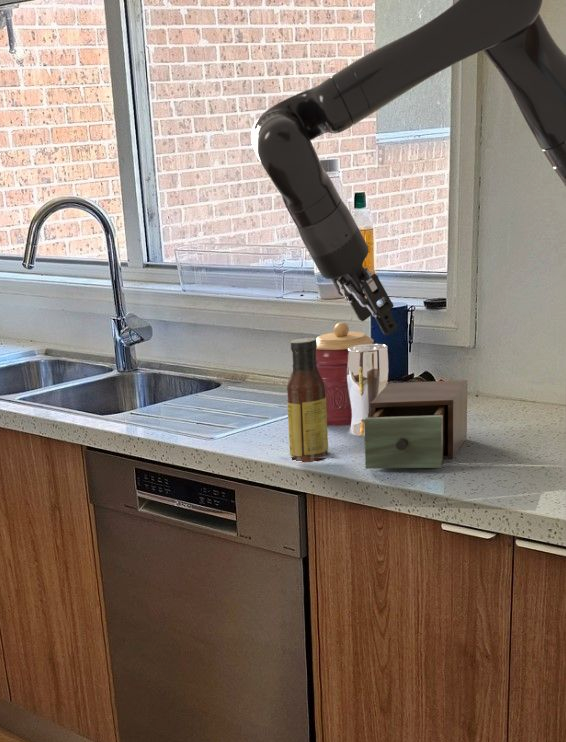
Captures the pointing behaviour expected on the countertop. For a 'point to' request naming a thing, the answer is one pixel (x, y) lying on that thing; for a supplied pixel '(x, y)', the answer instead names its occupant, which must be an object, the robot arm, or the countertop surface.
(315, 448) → the sauce bottle
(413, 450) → the drawer
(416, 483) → the countertop surface
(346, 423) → the kitchen canister
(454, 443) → the cabinet
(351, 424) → the beer glass
